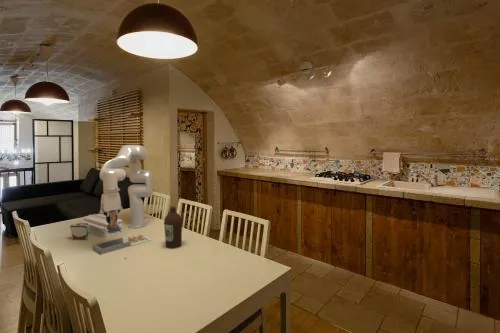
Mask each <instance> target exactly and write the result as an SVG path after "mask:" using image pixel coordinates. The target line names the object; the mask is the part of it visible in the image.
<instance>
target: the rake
mask: <svg viewBox="0 0 500 333" xmlns="http://www.w3.org/2000/svg"><path fill="white" fill-rule="evenodd" d="M109 216H110V223H108V225H107V230H109V231H111V232H116V231H118V227H117V226H116V214H115V211H110V212H109Z"/></svg>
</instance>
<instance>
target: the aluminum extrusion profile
mask: <svg viewBox="0 0 500 333" xmlns="http://www.w3.org/2000/svg"><path fill="white" fill-rule="evenodd" d="M82 219H83V220H80V221H79V222H78V223H88V224H89V228H88V234H90V235H94V236H97V237H99V238H101V239H104V238H108V237H112V236H115V235H119V234H122V233H124V231H123V230H124V229H123V223H122V222H123V220H122V219H119V218H117V222H116V226H117V227H118V231H116V232H111V231H109V230H107V225H108V223H107V221H106V216H105V215H104V214H101V213H97V214H96V213H92V214H88V215H85V216H83V217H82Z"/></svg>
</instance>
